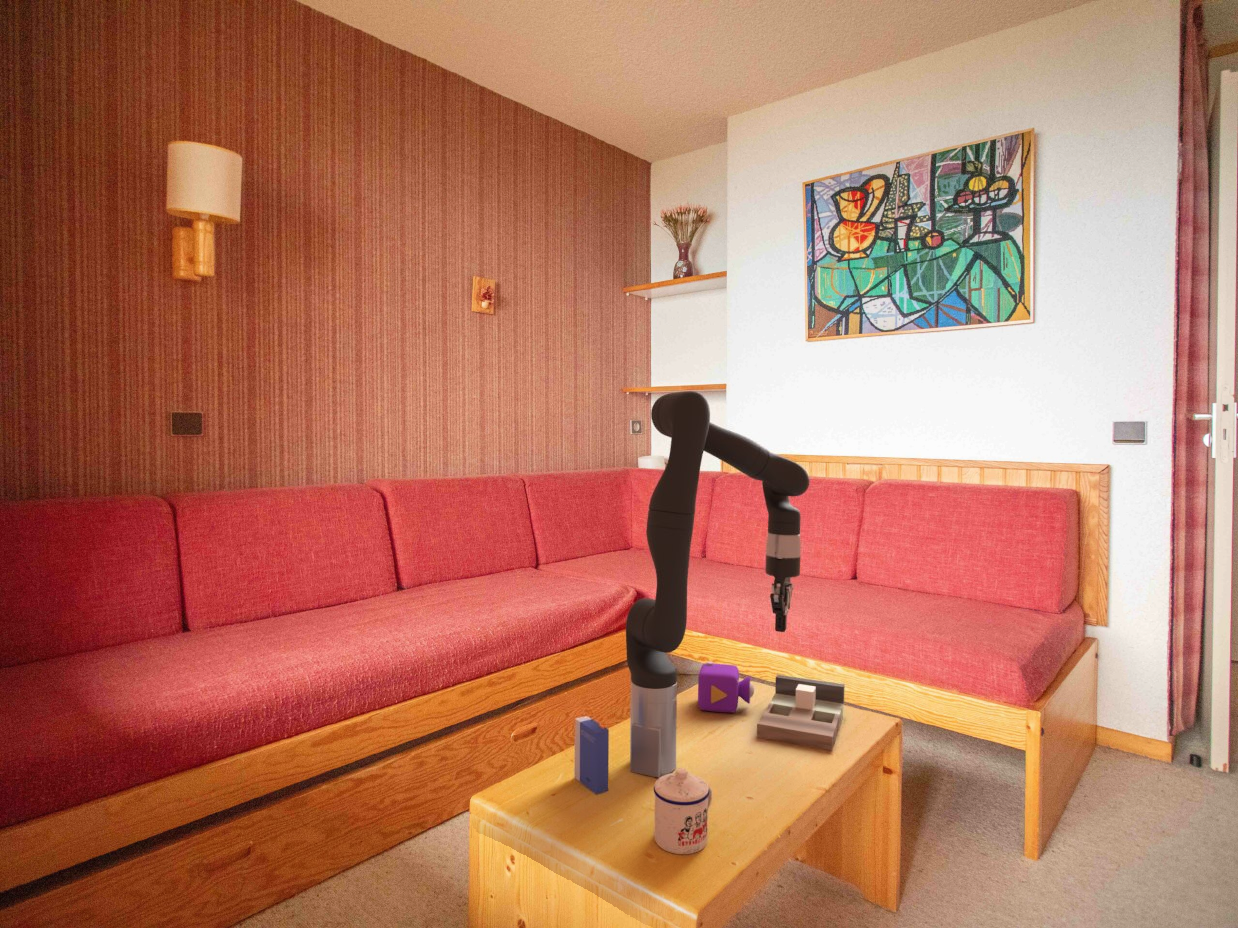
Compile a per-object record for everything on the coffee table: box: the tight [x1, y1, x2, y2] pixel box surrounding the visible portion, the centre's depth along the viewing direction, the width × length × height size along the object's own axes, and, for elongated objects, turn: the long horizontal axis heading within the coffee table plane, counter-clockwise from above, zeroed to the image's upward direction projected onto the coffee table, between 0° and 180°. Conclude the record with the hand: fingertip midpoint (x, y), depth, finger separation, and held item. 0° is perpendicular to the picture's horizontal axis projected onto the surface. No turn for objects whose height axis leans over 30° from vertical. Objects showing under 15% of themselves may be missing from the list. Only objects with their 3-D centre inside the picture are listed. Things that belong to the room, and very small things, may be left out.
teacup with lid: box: [653, 767, 713, 855], centre depth 116 cm, size 12×9×12 cm
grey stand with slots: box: [756, 674, 845, 752], centre depth 162 cm, size 22×16×7 cm
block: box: [795, 684, 816, 709], centre depth 166 cm, size 4×4×4 cm
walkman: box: [574, 715, 610, 795], centre depth 134 cm, size 8×3×12 cm, turn 34°
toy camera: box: [697, 660, 755, 714], centre depth 172 cm, size 11×14×10 cm
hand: (780, 630), depth 157 cm, fingers closed
